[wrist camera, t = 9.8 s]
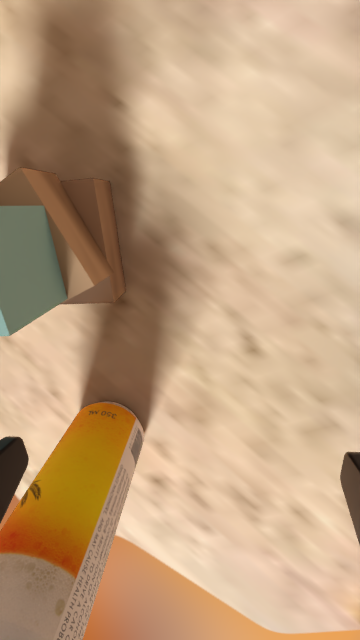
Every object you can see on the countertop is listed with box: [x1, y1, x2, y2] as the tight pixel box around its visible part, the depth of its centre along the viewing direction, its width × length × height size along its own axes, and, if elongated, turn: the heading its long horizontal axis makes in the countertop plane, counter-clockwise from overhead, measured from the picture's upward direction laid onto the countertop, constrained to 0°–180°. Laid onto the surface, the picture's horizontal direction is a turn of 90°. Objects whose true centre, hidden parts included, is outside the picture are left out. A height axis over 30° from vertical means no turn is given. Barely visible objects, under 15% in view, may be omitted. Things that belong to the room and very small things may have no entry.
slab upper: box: [0, 167, 114, 304], centre depth 16 cm, size 6×6×3 cm
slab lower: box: [60, 178, 126, 304], centre depth 18 cm, size 7×7×3 cm
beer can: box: [0, 402, 144, 640], centre depth 18 cm, size 6×6×15 cm
